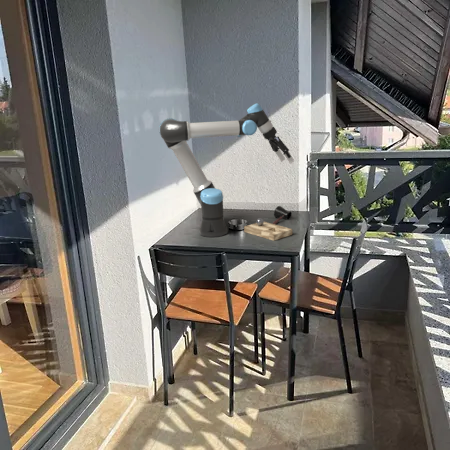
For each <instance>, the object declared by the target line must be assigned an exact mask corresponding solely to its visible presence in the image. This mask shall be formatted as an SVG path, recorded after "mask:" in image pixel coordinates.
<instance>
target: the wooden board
mask: <svg viewBox="0 0 450 450" xmlns="http://www.w3.org/2000/svg"><path fill="white" fill-rule="evenodd" d="M243 227H244V228H243V231H244V233H246V234H251V235H252V236H258V237H260V238H263V239H267V240H271V241H278V240H280V239H283V238H287V237H289V236H292V235H293V228H289V227H286V226H283V225H277V224H273V223H272V222H268V221H264V223H263V225H261V226H259V225H257V223H256V222H254V223H252V224H249V225H244V226H243Z"/></svg>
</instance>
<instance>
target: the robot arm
mask: <svg viewBox="0 0 450 450" xmlns="http://www.w3.org/2000/svg"><path fill="white" fill-rule="evenodd" d="M246 111H247V114H246V115H245V116H243V117H242V118H241V119H239V120H223V121H222V120H221V121H205V122H204V121H203V122H202V121H201V122H189V121H188V120H186V121H183V120H181V121H180V120H177V119H175V118H172V117H171V118H170V117H169V118H166V119H164V120H162V122H161V123H160V125H161V126H160V125H159V127H160V132H159V135H160V137H161V138H162V140H163V141H164V144H165V145H166V147H167V149H169V150H172V152H173V153H174V155H175V156H176V158H177V160H178V162H179V163H180V165H181V167H182V169H183V171H184V173H185V174H186V176H187V177H188V179H189V181H190V183H191V185H192V186H193V191H192V192H193V194H194V196H195V197H196V199H197V201H198V203H199V205H200V207H201V209H200V210H201V222H200V227H199V230H198V231H199V236H202V237H206V238H217V237H222V236H225V235H227V234H228V226H227V224H226V222H225V219H224V195H223V192H222V190H221V189H219V188H216V187H215V184H213V182H212V181H211V180H209V179H208V178H207V176H206V175H205V173H204V171H203V169H202V168H201V166H200V164H199V162H198V160H197V158H196V157H195V155H194V153H193V151H192V150H191V147H190V146H189V144H188V143H187V141H189V140H190V139H202V138H219V137H232V136H233V137H234V136H237V137H238V138H240V137H242V136H253V135H255V133H256V132H257V130H259V132H260V133H261V134H262V136H263V138H264V140H266V141H268V143H269V145H270V148H271V150H272V152H274V153H275V155H276V156H277V157H278V159H279V160H280V162H283V161H285V160H286V159H287V161H288V163H289V164H290V165H291V164H293V163H294V162H295V159H294V158H293V157H292V155H291V153H290V152H289V151H290V149H289V148H288V146H287V145H286V144H285V143H284V142H283V141H282V140H281V138H280V136H276V134H277V133H278V131H277V130H276V128H275V126H274V125H273V123H272V120H270V118H269V117H268V116H267V114H266V112H265V110H264V108H262V106H261V105H260V104H259V103H254V104H253V105H251V106H249V108H248V109H247V110H246Z"/></svg>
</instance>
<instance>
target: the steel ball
mask: <svg viewBox="0 0 450 450" xmlns="http://www.w3.org/2000/svg"><path fill="white" fill-rule="evenodd" d="M264 222H265V221H264V219H263V218H257V219H256V222H255V223H257V225H259V226H261V225H263V223H264Z"/></svg>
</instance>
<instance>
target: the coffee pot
mask: <svg viewBox="0 0 450 450" xmlns="http://www.w3.org/2000/svg"><path fill="white" fill-rule="evenodd" d="M273 216H274V218H275V219H276V220H274V221H273V220H272V221H271V223H272V224H275V225H277V223H280V220H282V219H286V220H287V221H288V220H290V219H291V218H292V212H291V211H288V210H287V209H285V208H284V207H282V206H281V205H278V206H276V208H274V211H273Z"/></svg>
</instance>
